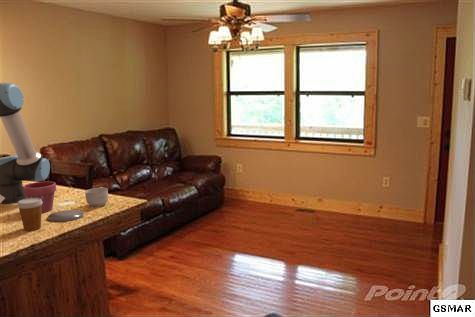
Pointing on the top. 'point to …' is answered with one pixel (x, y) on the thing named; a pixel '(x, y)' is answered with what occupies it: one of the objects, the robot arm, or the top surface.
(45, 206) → the plant pot
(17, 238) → the top surface
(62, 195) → the top surface
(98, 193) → the teacup
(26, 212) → the disposable coffee cup
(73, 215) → the gray dome
